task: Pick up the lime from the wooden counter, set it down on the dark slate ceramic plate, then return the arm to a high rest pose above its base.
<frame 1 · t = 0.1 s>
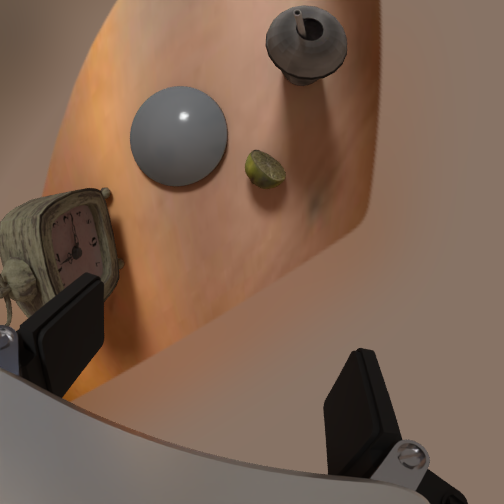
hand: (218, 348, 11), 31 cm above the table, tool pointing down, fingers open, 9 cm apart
lime: (266, 167, 39), on the table
beverage cup: (301, 69, 34), on the table
tabletop clock: (100, 228, 44), on the table
slate plate: (178, 135, 38), on the table
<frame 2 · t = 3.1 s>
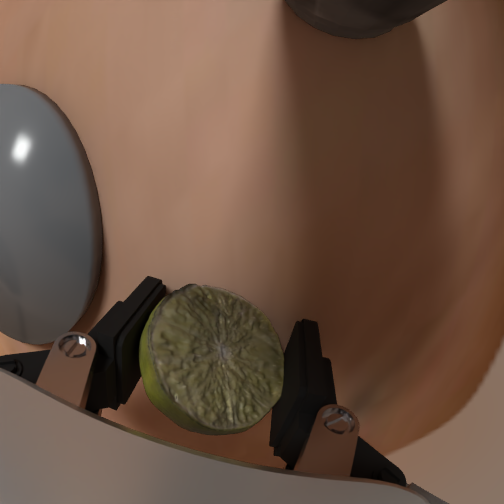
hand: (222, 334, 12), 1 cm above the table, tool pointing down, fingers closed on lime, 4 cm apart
lime: (226, 321, 12), on the table, touching gripper
slate plate: (1, 218, 12), on the table
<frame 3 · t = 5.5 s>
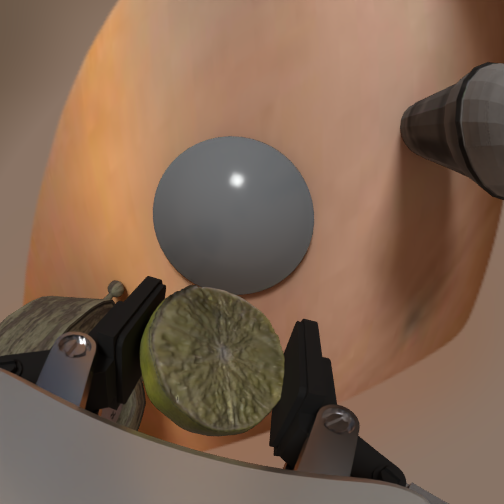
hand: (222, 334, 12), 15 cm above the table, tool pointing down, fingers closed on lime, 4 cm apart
lime: (226, 322, 13), point 14 cm above the table, touching gripper
beverage cup: (423, 129, 22), on the table
tabletop clock: (111, 327, 32), on the table
slate plate: (232, 217, 26), on the table
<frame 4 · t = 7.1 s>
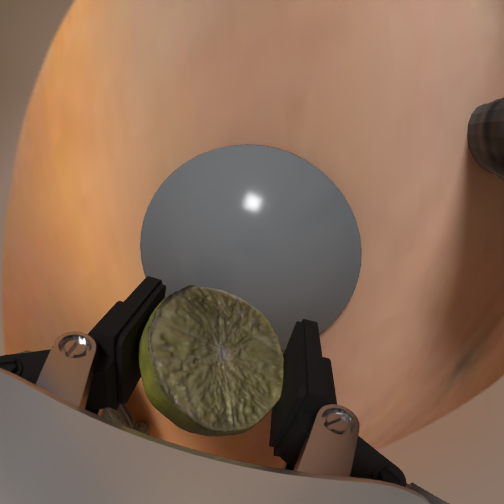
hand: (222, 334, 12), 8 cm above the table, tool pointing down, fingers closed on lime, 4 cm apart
lime: (225, 323, 12), point 7 cm above the table, touching gripper
beverage cup: (492, 138, 15), on the table
tabletop clock: (102, 379, 25), on the table
slate plate: (248, 256, 19), on the table
when the fingers open (3 cm above the table, at t = 8.4 s): lime drops 1 cm, resting on slate plate.
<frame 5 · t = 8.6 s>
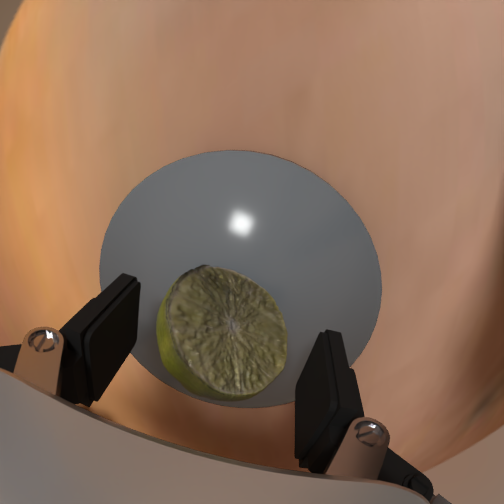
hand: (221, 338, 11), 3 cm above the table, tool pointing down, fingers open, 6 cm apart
lime: (235, 302, 14), point 1 cm above the table, touching slate plate
slate plate: (235, 295, 15), on the table
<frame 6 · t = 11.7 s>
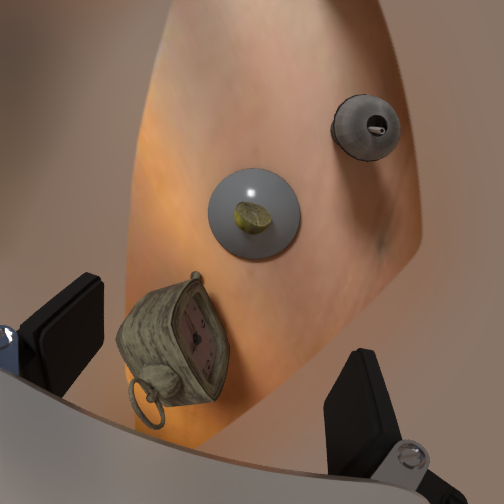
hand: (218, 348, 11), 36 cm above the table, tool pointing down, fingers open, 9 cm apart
lime: (254, 213, 45), point 1 cm above the table, touching slate plate
beverage cup: (346, 131, 41), on the table
tabletop clock: (195, 306, 52), on the table
slate plate: (254, 213, 46), on the table
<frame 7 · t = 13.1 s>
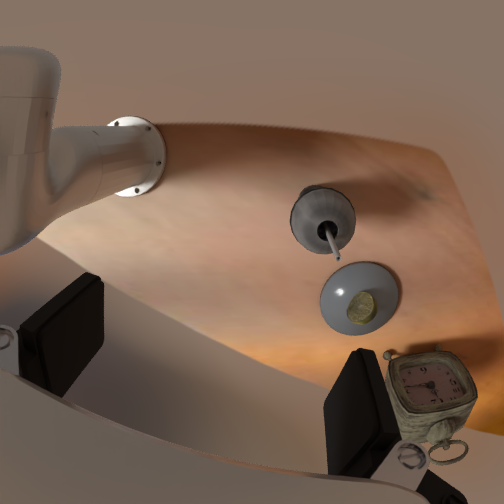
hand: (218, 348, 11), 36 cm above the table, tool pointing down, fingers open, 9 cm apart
lime: (359, 300, 48), point 1 cm above the table, touching slate plate
beverage cup: (314, 200, 45), on the table
tabletop clock: (409, 360, 53), on the table
slate plate: (359, 298, 49), on the table
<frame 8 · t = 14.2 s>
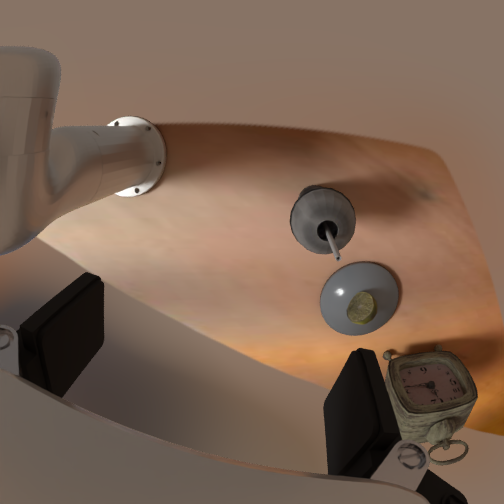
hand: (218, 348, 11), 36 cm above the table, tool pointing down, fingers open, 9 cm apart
lime: (359, 300, 48), point 1 cm above the table, touching slate plate
beverage cup: (314, 200, 45), on the table
tabletop clock: (409, 360, 53), on the table
slate plate: (359, 298, 49), on the table
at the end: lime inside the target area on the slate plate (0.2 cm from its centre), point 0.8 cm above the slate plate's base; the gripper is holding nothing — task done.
